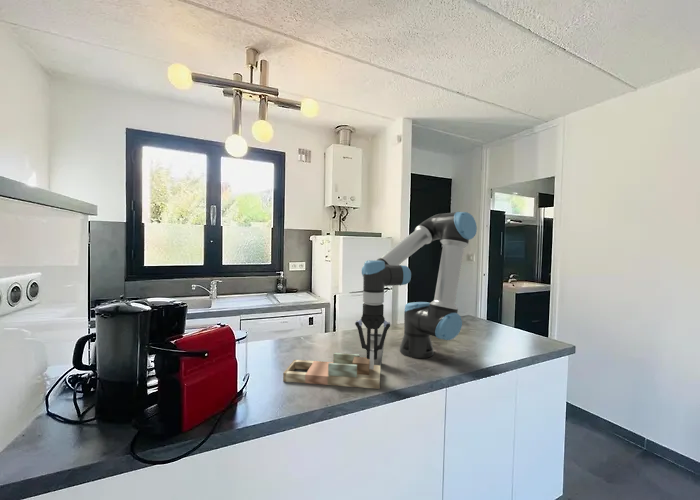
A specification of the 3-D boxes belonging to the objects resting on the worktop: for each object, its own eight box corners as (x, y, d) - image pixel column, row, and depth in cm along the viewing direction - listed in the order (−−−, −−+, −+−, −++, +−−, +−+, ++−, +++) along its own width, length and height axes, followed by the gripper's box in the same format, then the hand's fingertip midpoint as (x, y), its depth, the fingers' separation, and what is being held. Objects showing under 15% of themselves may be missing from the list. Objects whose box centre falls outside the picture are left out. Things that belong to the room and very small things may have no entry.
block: (369, 368, 116) (370, 357, 116) (369, 375, 110) (369, 363, 110) (353, 367, 116) (354, 356, 116) (352, 373, 110) (352, 362, 110)
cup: (382, 360, 132) (382, 332, 132) (386, 366, 125) (387, 337, 125) (365, 361, 131) (366, 332, 130) (369, 367, 124) (370, 337, 124)
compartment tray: (380, 373, 119) (380, 355, 119) (379, 388, 106) (379, 368, 106) (294, 366, 123) (294, 349, 123) (283, 381, 110) (283, 361, 110)
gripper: (391, 302, 115) (389, 365, 116) (356, 300, 117) (354, 362, 117) (391, 305, 108) (389, 373, 108) (354, 304, 109) (352, 370, 110)
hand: (371, 367), depth 113 cm, fingers closed
